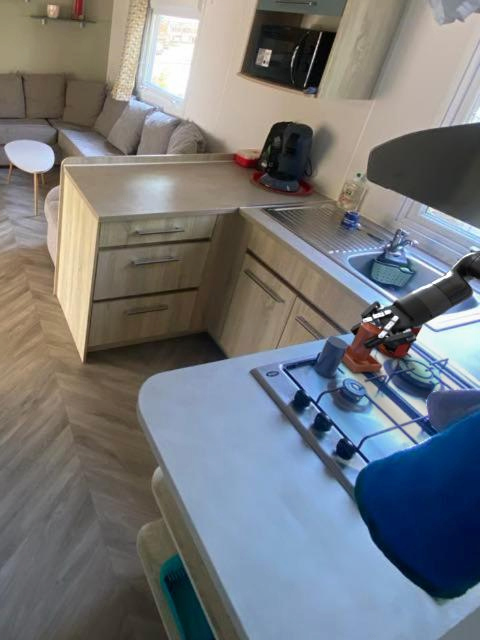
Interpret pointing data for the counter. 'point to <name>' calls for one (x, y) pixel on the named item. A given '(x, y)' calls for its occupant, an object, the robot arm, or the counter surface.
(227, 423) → the counter surface
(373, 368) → the terracotta tray
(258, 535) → the counter surface
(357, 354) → the cylinder
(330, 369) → the cylinder
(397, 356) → the canned food
